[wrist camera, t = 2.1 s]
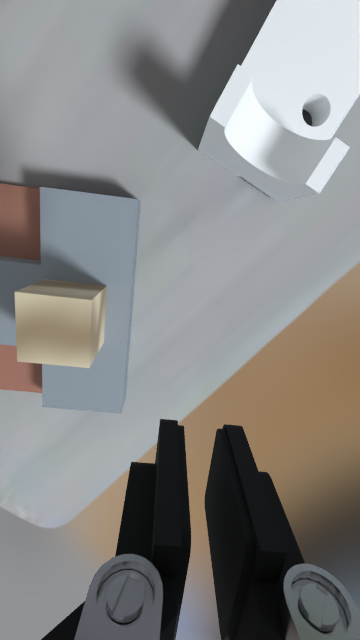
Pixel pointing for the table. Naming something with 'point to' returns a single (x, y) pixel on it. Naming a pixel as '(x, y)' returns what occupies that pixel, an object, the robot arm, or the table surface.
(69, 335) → the maple block
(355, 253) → the table surface
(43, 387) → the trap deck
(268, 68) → the bracket
